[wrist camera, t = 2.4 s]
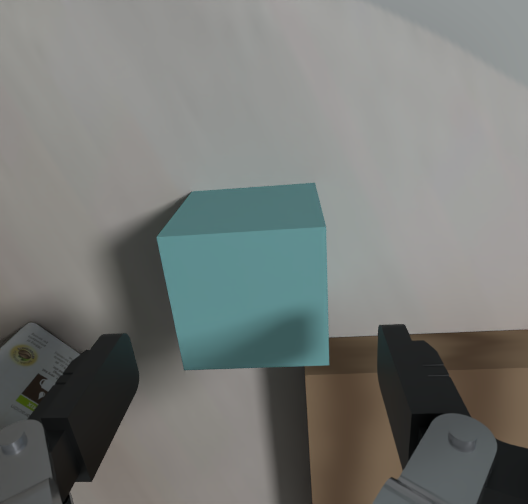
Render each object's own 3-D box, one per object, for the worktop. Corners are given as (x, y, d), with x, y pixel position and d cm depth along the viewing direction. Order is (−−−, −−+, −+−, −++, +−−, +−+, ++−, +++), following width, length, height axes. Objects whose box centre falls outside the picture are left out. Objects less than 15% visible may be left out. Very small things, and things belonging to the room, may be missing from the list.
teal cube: (209, 296, 22) (184, 370, 17) (192, 191, 20) (156, 237, 14) (318, 291, 22) (329, 365, 16) (314, 182, 19) (326, 226, 14)
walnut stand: (313, 518, 29) (315, 564, 27) (302, 338, 23) (305, 375, 20) (542, 517, 28) (570, 565, 25) (600, 326, 22) (646, 363, 19)
